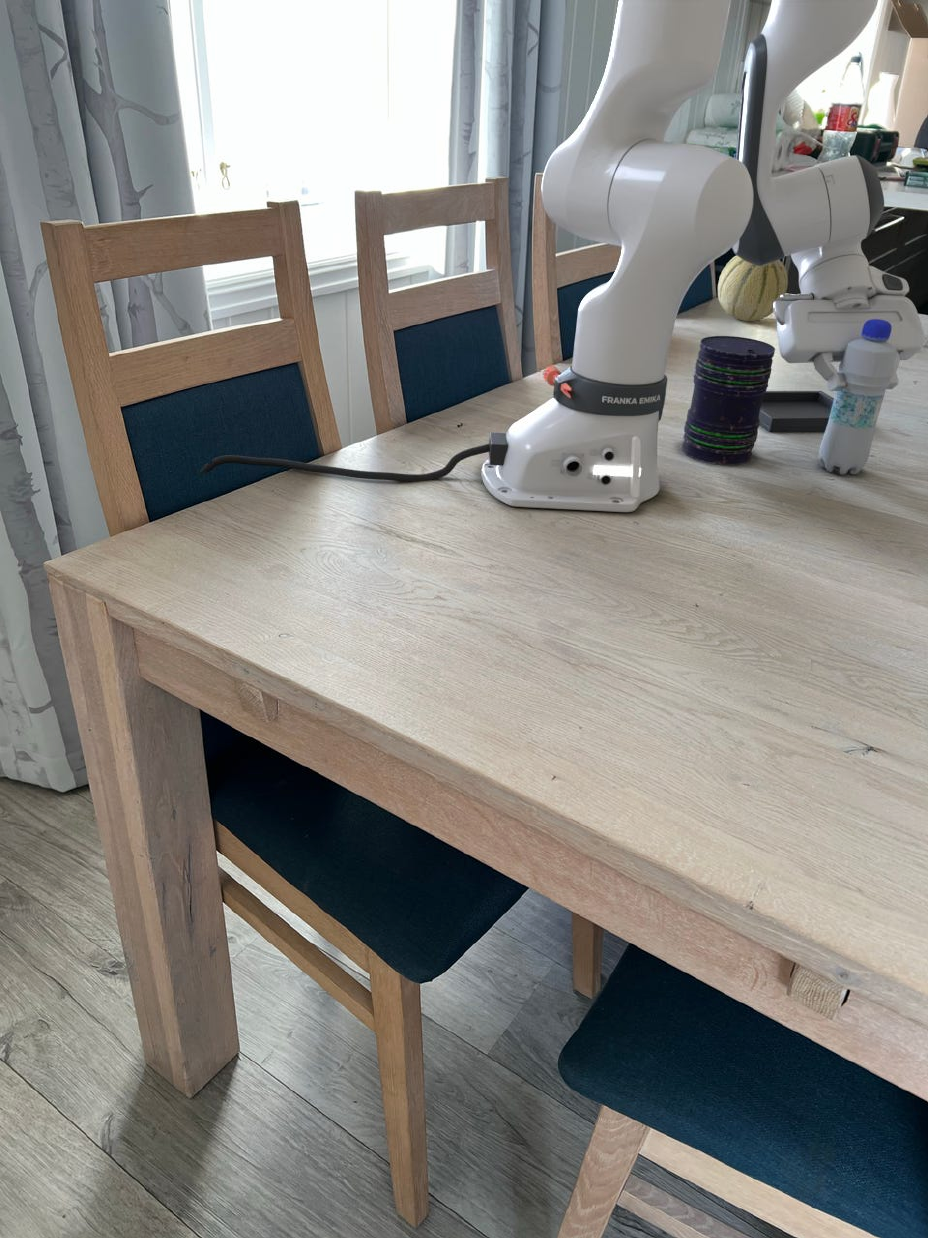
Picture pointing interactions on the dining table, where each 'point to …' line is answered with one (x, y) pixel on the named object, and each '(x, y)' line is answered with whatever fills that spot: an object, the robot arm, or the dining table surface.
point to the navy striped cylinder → (727, 399)
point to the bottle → (858, 399)
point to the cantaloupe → (751, 288)
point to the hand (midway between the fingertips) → (864, 388)
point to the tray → (795, 411)
